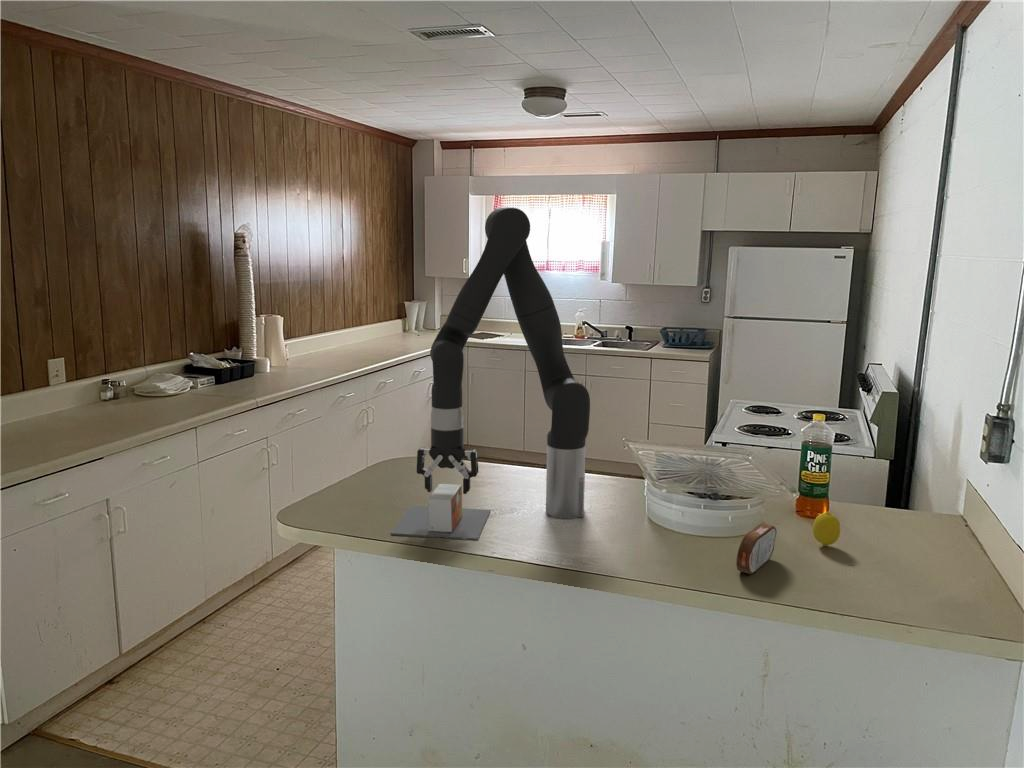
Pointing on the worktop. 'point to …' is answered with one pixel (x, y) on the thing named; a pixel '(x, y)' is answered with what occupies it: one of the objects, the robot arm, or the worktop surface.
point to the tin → (756, 548)
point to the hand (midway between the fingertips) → (447, 492)
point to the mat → (418, 525)
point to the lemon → (826, 529)
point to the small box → (445, 507)
